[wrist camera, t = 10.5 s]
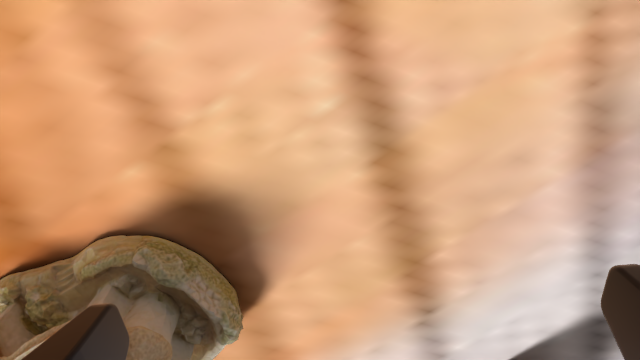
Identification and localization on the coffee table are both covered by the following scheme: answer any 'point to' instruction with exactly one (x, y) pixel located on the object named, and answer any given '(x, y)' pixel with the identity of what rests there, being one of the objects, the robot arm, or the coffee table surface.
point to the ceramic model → (125, 299)
